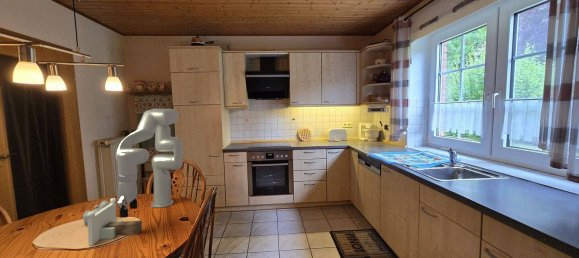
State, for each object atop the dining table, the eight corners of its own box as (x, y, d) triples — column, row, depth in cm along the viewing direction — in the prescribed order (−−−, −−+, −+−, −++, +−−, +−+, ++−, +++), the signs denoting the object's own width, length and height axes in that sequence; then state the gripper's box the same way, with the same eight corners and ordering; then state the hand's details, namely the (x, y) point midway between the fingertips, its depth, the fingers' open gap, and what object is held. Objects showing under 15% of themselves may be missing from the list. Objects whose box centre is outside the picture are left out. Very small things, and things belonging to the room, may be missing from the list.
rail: (104, 236, 116) (104, 225, 115) (109, 232, 120) (109, 222, 119) (138, 234, 118) (138, 224, 118) (141, 230, 122) (141, 220, 122)
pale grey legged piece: (112, 225, 127) (111, 198, 126) (128, 224, 128) (127, 197, 128) (87, 246, 107) (86, 213, 106) (106, 244, 108) (105, 213, 108)
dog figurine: (114, 219, 134) (114, 199, 134) (85, 228, 124) (85, 206, 123) (110, 217, 137) (110, 197, 137) (81, 225, 126) (80, 204, 126)
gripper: (127, 172, 126) (128, 205, 127) (109, 183, 109) (110, 221, 110) (143, 172, 127) (144, 205, 129) (127, 183, 110) (129, 220, 112)
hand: (129, 212), depth 119 cm, fingers open, 9 cm apart
